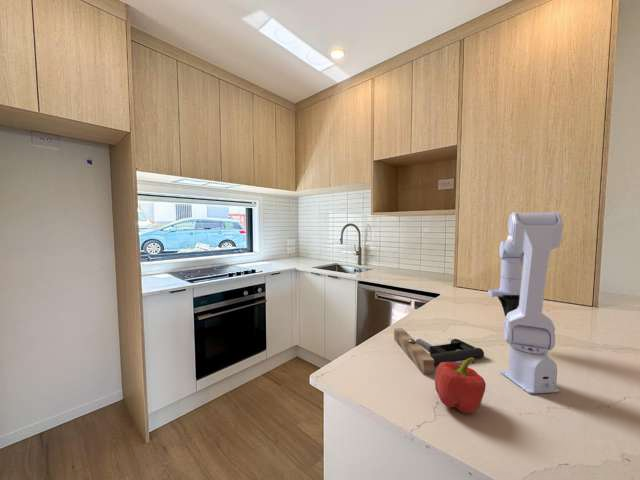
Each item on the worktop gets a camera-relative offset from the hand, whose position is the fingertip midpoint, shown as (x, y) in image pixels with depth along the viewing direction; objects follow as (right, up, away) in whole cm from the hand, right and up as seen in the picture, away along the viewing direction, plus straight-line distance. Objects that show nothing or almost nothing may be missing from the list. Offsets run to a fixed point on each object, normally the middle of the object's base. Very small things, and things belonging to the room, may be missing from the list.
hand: (508, 317), depth 90 cm
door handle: (-25, -11, -5) cm, 27 cm away
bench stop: (-36, -10, -7) cm, 37 cm away
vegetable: (-33, -12, -29) cm, 45 cm away
